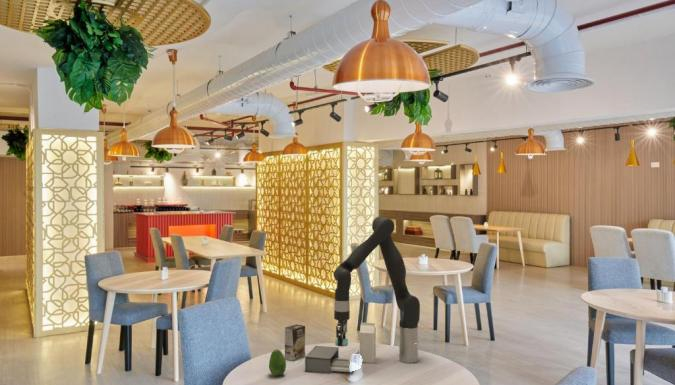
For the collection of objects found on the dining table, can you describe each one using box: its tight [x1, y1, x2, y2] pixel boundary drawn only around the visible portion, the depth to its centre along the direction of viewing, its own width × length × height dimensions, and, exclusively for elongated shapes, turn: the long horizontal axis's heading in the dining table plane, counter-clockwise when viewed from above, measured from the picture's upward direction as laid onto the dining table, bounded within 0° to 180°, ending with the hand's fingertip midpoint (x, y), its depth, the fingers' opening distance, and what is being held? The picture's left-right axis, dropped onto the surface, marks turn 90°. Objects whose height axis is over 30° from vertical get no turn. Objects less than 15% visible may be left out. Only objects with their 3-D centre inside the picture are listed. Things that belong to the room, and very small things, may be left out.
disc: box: [335, 338, 349, 348], centre depth 257 cm, size 6×6×2 cm
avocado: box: [268, 349, 287, 377], centre depth 247 cm, size 8×8×12 cm
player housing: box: [304, 345, 340, 375], centre depth 259 cm, size 12×18×7 cm, turn 166°
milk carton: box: [359, 322, 377, 364], centre depth 268 cm, size 7×7×19 cm
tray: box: [330, 349, 360, 373], centre depth 257 cm, size 12×17×6 cm
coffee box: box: [284, 324, 306, 362], centre depth 272 cm, size 9×6×16 cm
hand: (341, 343), depth 257 cm, fingers closed on disc, 6 cm apart
